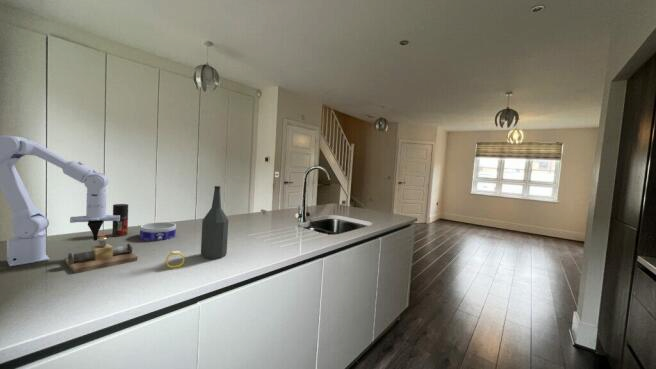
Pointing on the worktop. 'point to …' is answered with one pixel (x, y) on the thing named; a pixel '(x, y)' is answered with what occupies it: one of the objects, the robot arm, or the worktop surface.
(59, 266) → the worktop surface
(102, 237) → the valve lever
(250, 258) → the worktop surface
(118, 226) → the deodorant
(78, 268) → the valve board
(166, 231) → the dog bowl
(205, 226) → the bottle
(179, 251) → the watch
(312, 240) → the worktop surface
